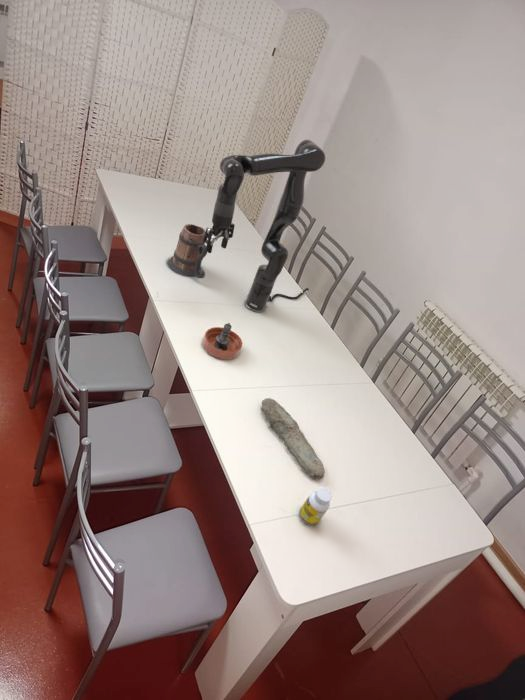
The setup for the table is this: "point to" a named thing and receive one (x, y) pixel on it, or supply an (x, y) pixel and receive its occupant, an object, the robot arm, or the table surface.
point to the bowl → (232, 347)
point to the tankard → (189, 252)
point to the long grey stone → (293, 438)
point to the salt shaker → (223, 338)
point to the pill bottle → (315, 506)
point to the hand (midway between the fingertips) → (216, 249)
